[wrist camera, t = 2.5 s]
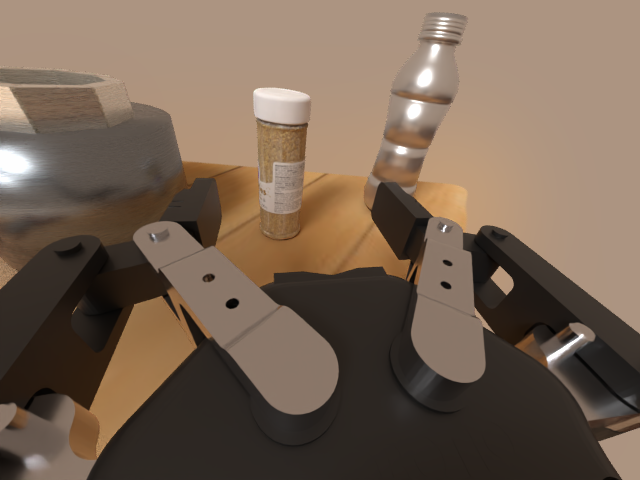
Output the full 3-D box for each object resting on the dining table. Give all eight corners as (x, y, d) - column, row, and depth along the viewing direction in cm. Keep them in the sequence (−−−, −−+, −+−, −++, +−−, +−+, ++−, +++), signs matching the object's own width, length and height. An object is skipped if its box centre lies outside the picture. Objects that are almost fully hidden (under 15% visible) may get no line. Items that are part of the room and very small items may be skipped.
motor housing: (22, 311, 16) (-212, 101, 8) (-15, 206, 24) (-151, 49, 16) (221, 227, 26) (199, 94, 18) (148, 172, 34) (111, 64, 26)
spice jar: (257, 220, 28) (249, 84, 19) (295, 216, 29) (302, 89, 21) (263, 244, 24) (256, 93, 16) (305, 239, 26) (319, 98, 18)
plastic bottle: (381, 195, 37) (435, 23, 25) (416, 216, 33) (501, 23, 20) (350, 202, 34) (393, 10, 21) (384, 227, 30) (462, 6, 17)
